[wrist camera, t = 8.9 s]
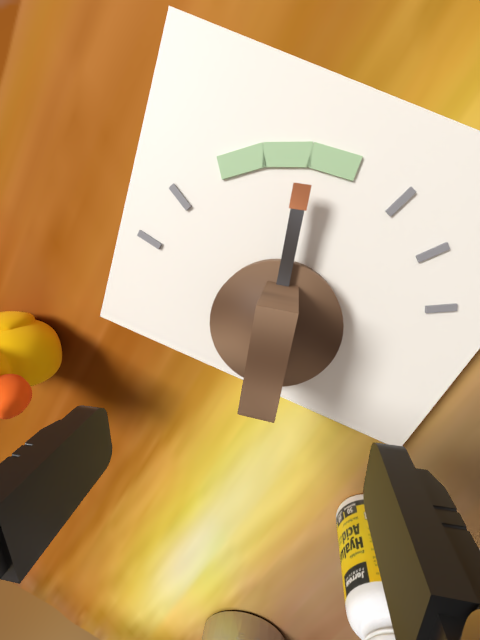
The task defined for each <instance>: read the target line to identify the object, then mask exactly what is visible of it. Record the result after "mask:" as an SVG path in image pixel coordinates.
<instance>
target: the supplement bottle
mask: <svg viewBox="0 0 480 640" xmlns="http://www.w3.org/2000/svg"><path fill="white" fill-rule="evenodd" d="M336 524H337V533H338V542H339V551H340V561H341V570H342V578H343V588H344V598H345V606H346V613H347V617H348V620H349V623H350V625H351V627H352V629H353V630H354V632H355V633H356V634H357V635H358V636H359V637H360V638H361V639H362V640H396V639H395V635H394V631H393V627H392V623H391V618H390V614H389V610H388V606H387V601H386V597H385V593H384V589H383V585H382V580H381V576H380V572H379V568H378V564H377V559H376V555H375V551H374V547H373V543H372V538H371V534H370V530H369V526H368V521H367V517H366V513H365V508H364V498H363V494H359V495H355V496H352V497H349V498H347V499H346V500H345V501H343V502H342V503H341V505H340V506H339V508H338V510H337V513H336Z"/></svg>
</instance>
